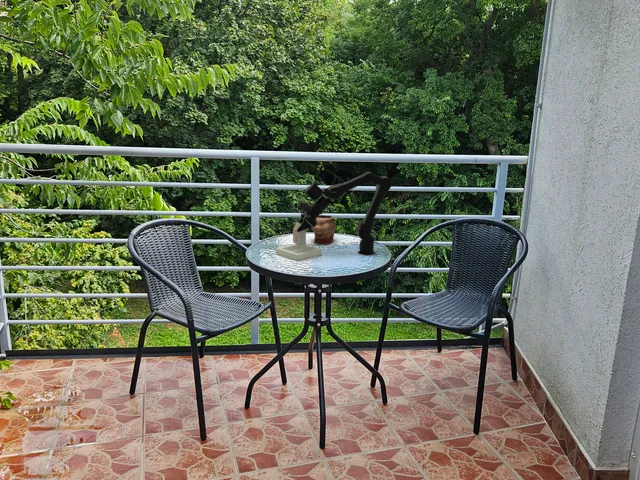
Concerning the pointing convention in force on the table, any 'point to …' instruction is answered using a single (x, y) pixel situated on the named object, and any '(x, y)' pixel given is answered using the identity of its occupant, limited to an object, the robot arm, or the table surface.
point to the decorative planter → (324, 229)
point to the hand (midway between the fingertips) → (296, 229)
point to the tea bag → (299, 235)
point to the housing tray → (298, 252)
